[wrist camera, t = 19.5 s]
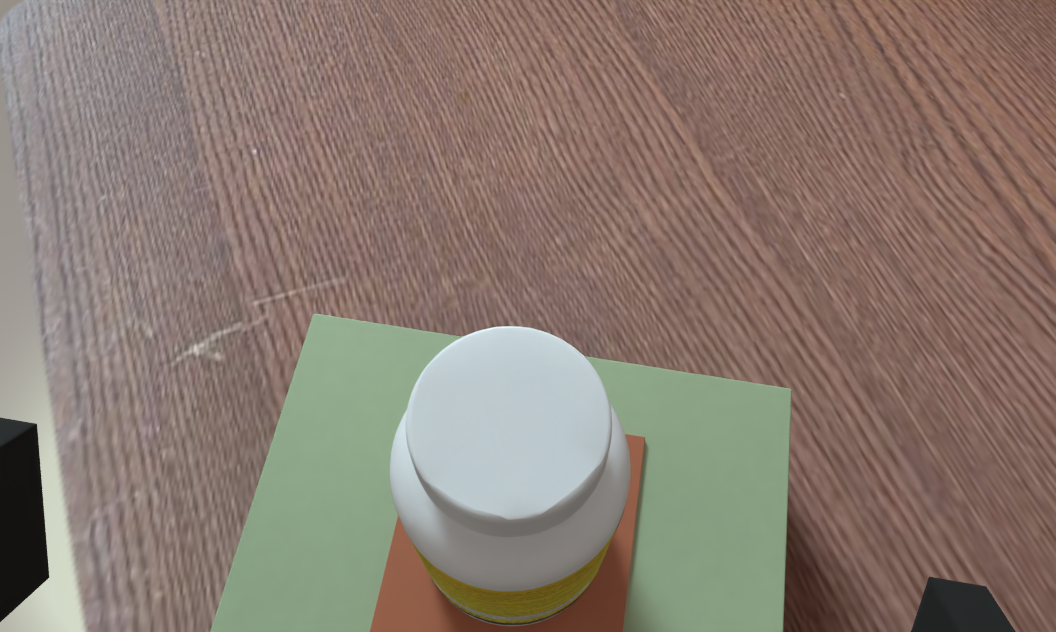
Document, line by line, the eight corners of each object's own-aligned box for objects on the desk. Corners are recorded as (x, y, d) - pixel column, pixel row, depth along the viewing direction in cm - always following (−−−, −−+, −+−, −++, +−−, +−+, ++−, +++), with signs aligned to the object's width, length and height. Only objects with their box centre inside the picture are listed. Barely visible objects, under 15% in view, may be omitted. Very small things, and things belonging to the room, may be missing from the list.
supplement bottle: (633, 592, 24) (694, 511, 15) (450, 655, 23) (403, 609, 14) (570, 421, 26) (591, 264, 17) (402, 473, 25) (335, 337, 17)
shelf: (244, 703, 27) (185, 697, 23) (343, 369, 32) (311, 310, 28) (734, 800, 26) (779, 816, 21) (754, 437, 31) (793, 386, 27)
